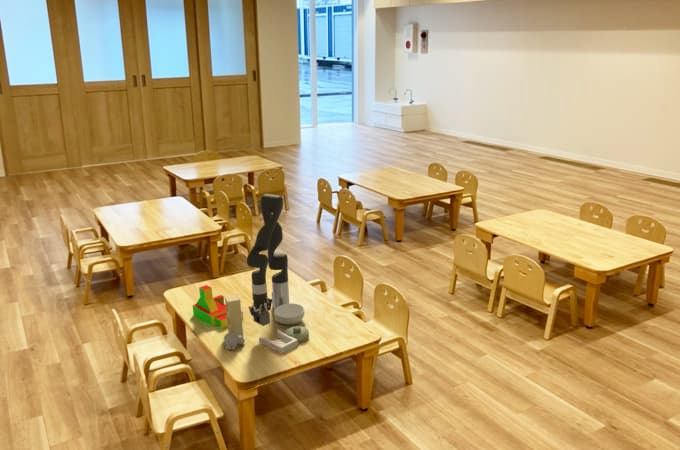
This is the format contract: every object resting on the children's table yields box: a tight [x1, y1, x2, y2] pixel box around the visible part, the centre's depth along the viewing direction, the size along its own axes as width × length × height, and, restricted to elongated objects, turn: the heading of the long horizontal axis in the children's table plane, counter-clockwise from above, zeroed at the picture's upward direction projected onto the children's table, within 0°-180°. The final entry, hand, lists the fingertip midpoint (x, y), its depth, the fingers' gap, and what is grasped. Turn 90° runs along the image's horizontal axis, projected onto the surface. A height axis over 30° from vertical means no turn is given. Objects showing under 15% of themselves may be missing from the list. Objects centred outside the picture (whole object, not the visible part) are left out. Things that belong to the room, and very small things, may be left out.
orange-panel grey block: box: [252, 307, 271, 327], centre depth 312 cm, size 8×4×7 cm, turn 46°
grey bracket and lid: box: [258, 325, 310, 354], centre depth 313 cm, size 16×24×5 cm
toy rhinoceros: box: [221, 332, 246, 351], centre depth 307 cm, size 7×12×8 cm, turn 127°
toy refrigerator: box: [224, 294, 244, 336], centre depth 317 cm, size 8×7×21 cm
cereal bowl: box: [273, 302, 305, 326], centre depth 332 cm, size 17×17×7 cm
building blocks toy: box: [192, 284, 244, 329], centre depth 337 cm, size 19×25×18 cm
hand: (261, 320), depth 313 cm, fingers closed on orange-panel grey block, 4 cm apart
